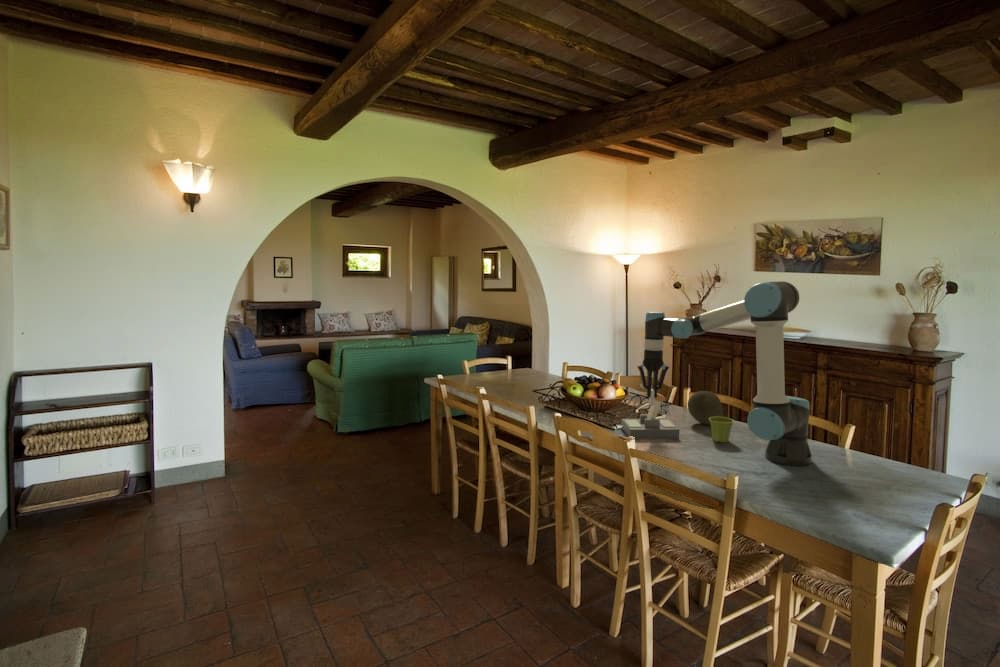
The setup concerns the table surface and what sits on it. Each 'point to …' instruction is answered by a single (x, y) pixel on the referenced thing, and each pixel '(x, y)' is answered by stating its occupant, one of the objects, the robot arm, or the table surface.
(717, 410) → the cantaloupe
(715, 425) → the plant pot
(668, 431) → the switch box
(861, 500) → the table surface
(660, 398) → the toggle lever
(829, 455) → the table surface
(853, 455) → the table surface
